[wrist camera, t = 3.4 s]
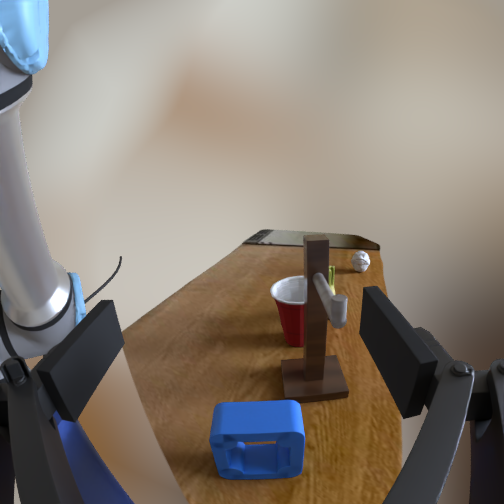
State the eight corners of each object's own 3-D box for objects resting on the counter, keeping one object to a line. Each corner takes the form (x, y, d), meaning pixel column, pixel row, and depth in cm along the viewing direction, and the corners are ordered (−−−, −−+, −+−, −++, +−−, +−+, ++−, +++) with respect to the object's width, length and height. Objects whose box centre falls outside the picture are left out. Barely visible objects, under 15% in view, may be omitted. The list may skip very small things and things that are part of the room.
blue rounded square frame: (301, 476, 30) (305, 430, 27) (220, 479, 30) (207, 433, 27) (298, 447, 35) (300, 398, 32) (223, 450, 35) (212, 401, 32)
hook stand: (361, 437, 35) (390, 270, 28) (289, 446, 35) (289, 277, 28) (335, 361, 53) (341, 227, 46) (281, 366, 53) (276, 231, 46)
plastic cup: (263, 348, 59) (259, 293, 56) (285, 323, 68) (283, 273, 65) (315, 360, 54) (317, 302, 51) (331, 331, 63) (334, 279, 59)
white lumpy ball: (349, 275, 92) (350, 253, 90) (351, 267, 98) (352, 246, 96) (369, 276, 90) (370, 254, 88) (369, 268, 96) (370, 247, 94)
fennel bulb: (323, 324, 66) (324, 273, 63) (310, 316, 70) (310, 267, 67) (342, 316, 69) (345, 267, 65) (329, 308, 73) (330, 262, 69)
